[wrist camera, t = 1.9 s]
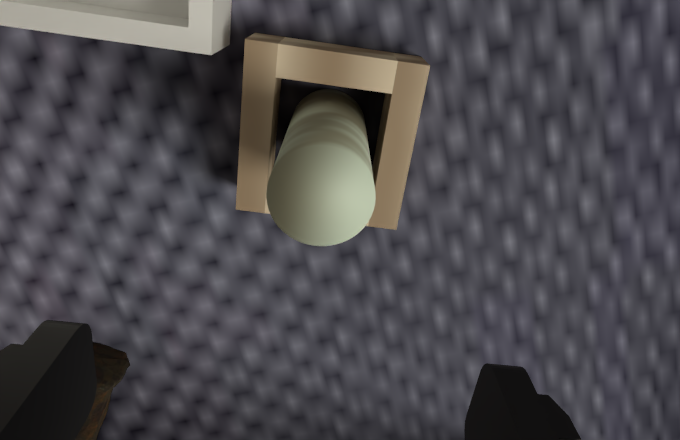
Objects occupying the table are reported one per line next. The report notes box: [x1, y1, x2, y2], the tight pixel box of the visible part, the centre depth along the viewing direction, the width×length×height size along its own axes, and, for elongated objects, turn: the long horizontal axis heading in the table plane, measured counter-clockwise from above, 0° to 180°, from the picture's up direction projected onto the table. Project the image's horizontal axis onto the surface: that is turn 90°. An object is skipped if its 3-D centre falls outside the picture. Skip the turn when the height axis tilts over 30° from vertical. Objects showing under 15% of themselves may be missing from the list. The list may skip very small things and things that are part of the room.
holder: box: [236, 33, 430, 230], centre depth 26 cm, size 8×8×3 cm
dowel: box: [266, 89, 376, 246], centre depth 23 cm, size 4×4×10 cm
